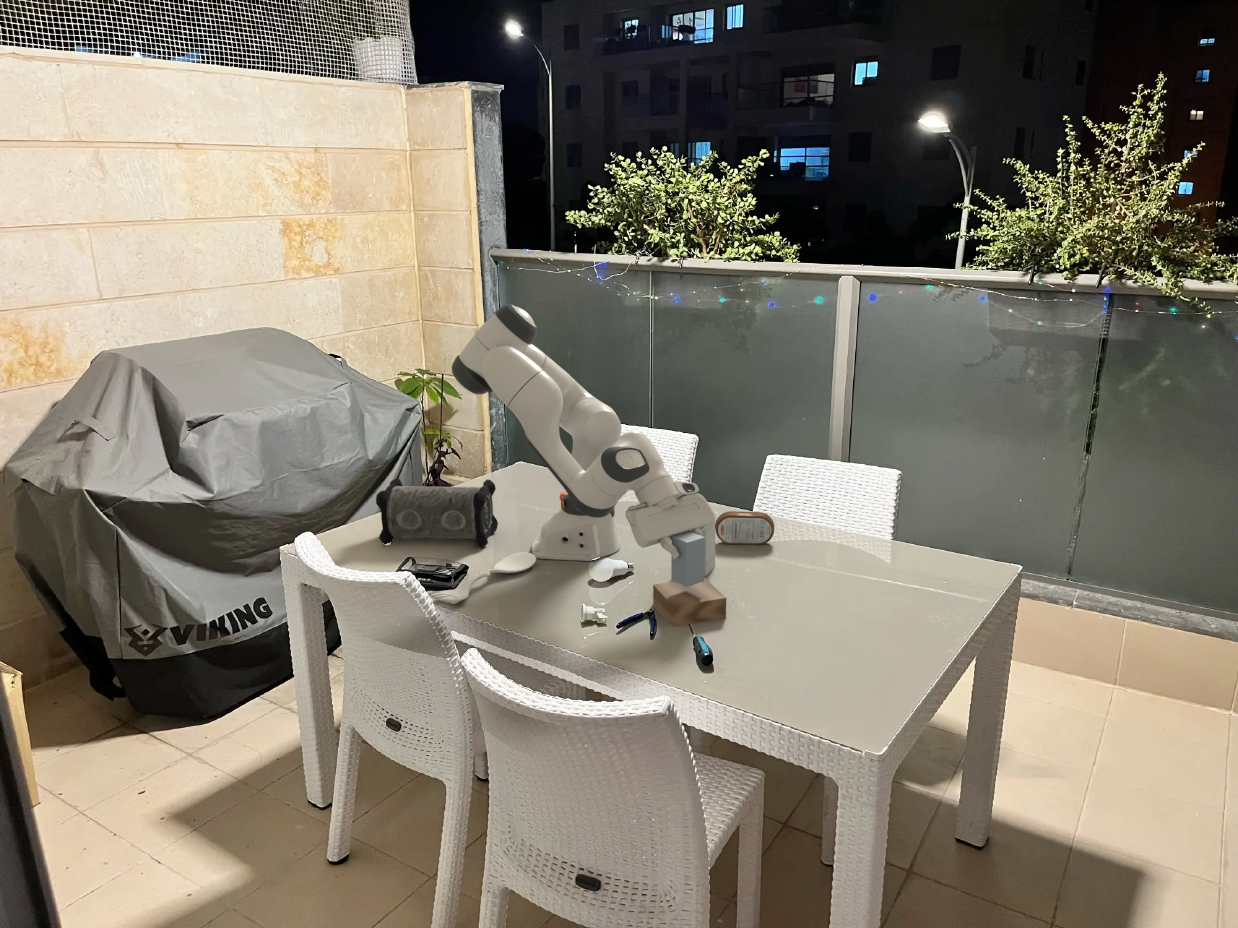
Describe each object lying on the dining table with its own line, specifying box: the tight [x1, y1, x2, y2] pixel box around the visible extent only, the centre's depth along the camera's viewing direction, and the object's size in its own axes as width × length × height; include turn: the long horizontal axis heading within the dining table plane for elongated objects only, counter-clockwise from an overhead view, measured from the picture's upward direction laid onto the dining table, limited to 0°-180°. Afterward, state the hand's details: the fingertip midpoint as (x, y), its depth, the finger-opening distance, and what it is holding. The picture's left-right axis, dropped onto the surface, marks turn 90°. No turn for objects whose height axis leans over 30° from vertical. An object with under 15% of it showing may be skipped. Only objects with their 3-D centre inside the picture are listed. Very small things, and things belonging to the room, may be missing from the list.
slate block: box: [670, 531, 706, 587], centre depth 203 cm, size 5×5×10 cm
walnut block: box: [652, 578, 727, 628], centre depth 206 cm, size 12×12×5 cm
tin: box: [715, 510, 775, 546], centre depth 243 cm, size 15×3×8 cm, turn 84°
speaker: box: [375, 478, 499, 548], centre depth 250 cm, size 15×28×15 cm, turn 84°
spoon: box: [426, 551, 537, 605], centre depth 222 cm, size 9×32×4 cm, turn 147°
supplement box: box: [702, 522, 716, 577], centre depth 227 cm, size 7×7×13 cm
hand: (689, 553), depth 202 cm, fingers closed on slate block, 5 cm apart
